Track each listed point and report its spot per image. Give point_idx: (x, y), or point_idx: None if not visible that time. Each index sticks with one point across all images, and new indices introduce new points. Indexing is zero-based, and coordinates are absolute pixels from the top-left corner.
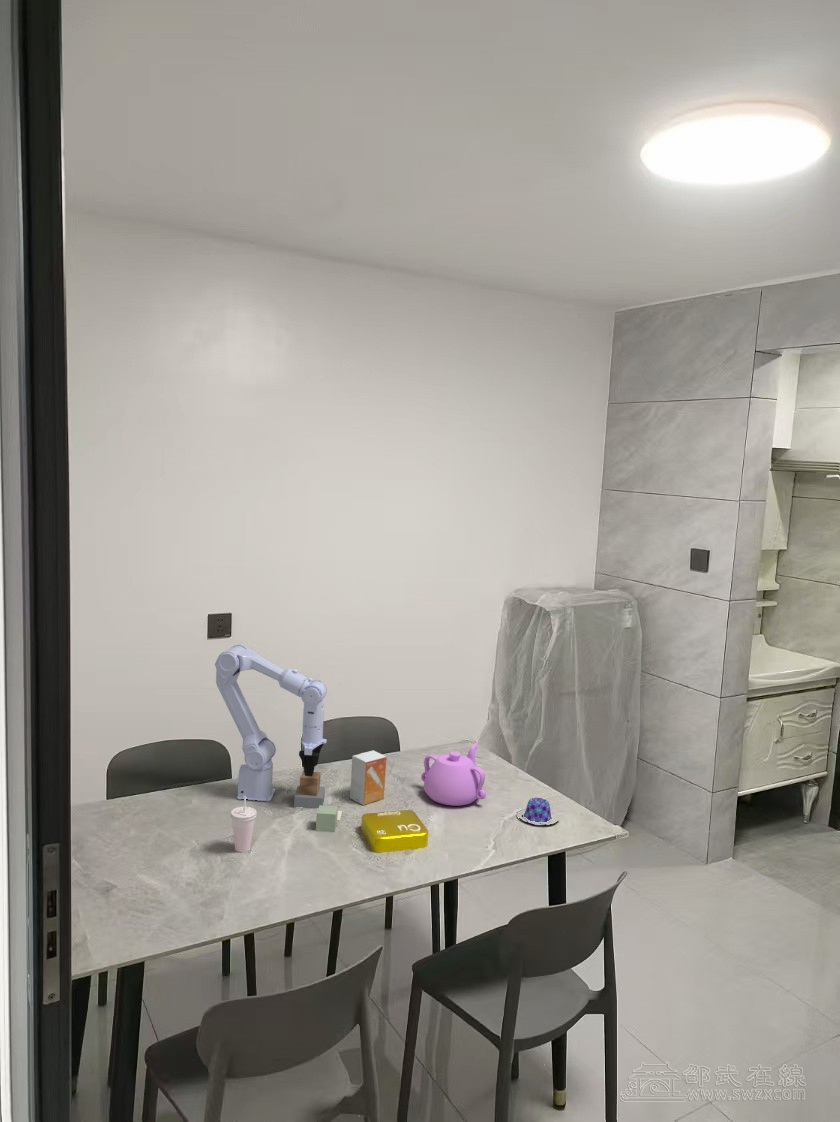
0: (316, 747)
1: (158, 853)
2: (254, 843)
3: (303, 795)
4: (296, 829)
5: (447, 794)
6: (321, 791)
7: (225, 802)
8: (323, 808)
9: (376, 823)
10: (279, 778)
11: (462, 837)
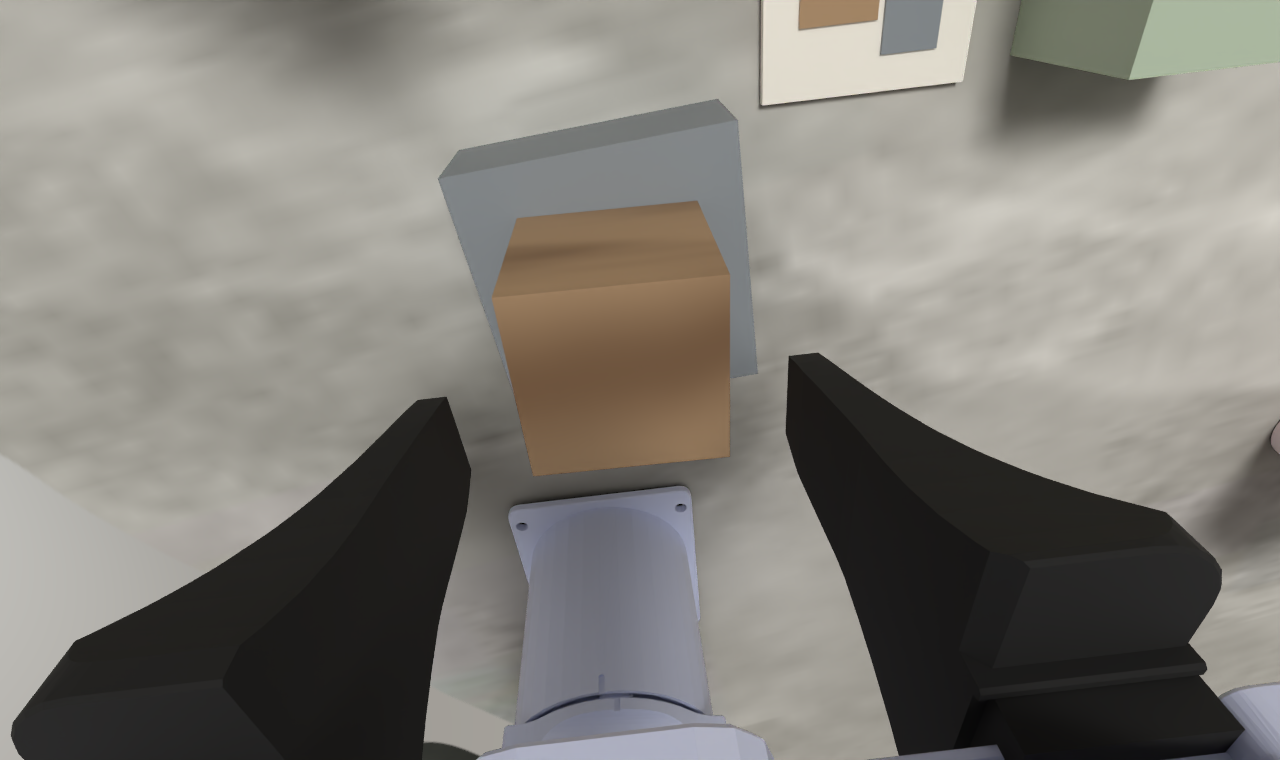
0: (355, 652)
1: (1242, 659)
2: (1268, 388)
3: None
4: (1120, 205)
5: None
6: (572, 183)
7: (738, 638)
8: (1235, 2)
9: None
10: None
11: None
